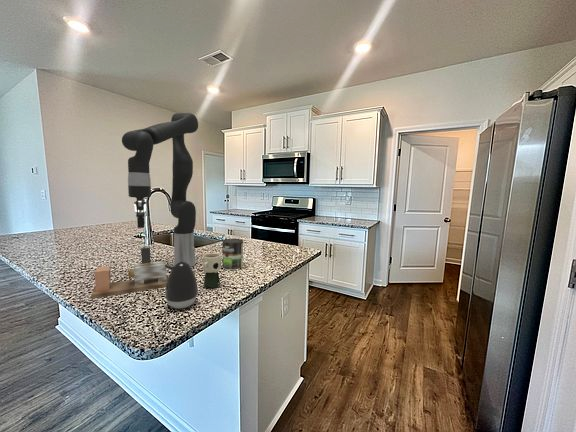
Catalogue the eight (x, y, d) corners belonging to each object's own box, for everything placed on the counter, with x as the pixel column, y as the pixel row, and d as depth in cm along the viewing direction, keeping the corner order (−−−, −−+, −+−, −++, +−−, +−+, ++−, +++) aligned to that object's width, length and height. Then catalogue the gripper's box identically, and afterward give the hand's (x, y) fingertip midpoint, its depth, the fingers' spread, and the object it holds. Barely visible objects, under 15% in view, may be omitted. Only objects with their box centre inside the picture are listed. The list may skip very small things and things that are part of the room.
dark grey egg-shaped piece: (171, 298, 89) (171, 257, 87) (201, 298, 89) (201, 257, 88) (159, 312, 78) (158, 266, 77) (193, 312, 79) (192, 266, 78)
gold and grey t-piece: (165, 271, 104) (164, 245, 102) (166, 273, 101) (165, 247, 100) (128, 275, 97) (127, 248, 96) (128, 278, 94) (127, 250, 93)
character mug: (212, 292, 95) (212, 259, 93) (196, 290, 96) (195, 257, 95) (226, 282, 105) (226, 252, 104) (211, 280, 107) (211, 251, 105)
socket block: (111, 284, 96) (110, 265, 95) (109, 290, 90) (108, 270, 90) (98, 286, 93) (97, 267, 93) (95, 292, 88) (94, 272, 88)
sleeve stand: (167, 278, 108) (167, 259, 107) (169, 286, 99) (169, 265, 98) (95, 288, 95) (94, 267, 94) (91, 298, 86) (90, 275, 85)
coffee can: (235, 272, 118) (235, 243, 116) (217, 269, 122) (217, 241, 120) (246, 266, 127) (247, 239, 126) (230, 263, 131) (230, 237, 130)
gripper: (151, 185, 91) (152, 228, 93) (150, 185, 103) (151, 223, 105) (126, 184, 87) (128, 229, 89) (129, 184, 99) (130, 224, 101)
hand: (141, 226), depth 97 cm, fingers open, 8 cm apart
